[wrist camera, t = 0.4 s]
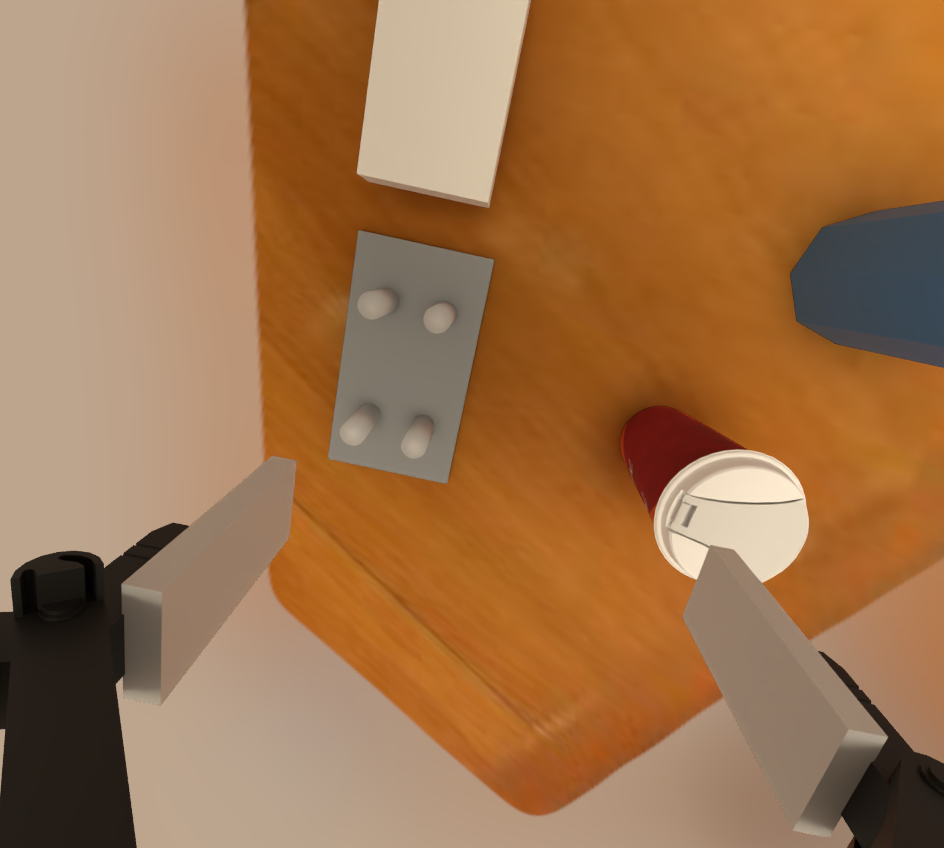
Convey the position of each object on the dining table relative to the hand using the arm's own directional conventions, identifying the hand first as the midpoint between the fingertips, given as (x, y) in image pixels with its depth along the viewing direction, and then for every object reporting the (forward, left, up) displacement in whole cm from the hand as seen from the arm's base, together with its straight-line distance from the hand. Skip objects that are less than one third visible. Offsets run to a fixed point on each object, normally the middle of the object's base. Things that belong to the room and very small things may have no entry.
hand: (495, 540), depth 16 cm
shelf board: (-19, -7, -22) cm, 29 cm away
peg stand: (0, -7, -26) cm, 27 cm away
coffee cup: (+2, +14, -26) cm, 30 cm away
